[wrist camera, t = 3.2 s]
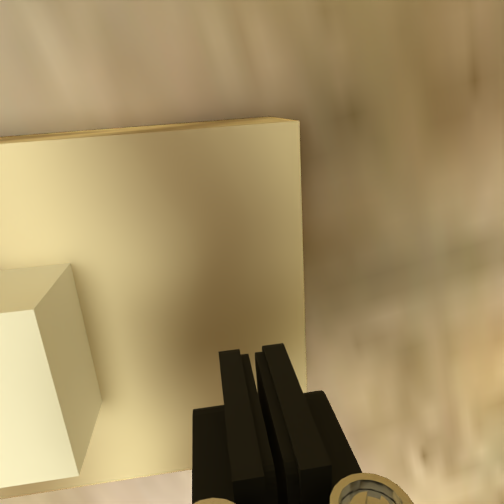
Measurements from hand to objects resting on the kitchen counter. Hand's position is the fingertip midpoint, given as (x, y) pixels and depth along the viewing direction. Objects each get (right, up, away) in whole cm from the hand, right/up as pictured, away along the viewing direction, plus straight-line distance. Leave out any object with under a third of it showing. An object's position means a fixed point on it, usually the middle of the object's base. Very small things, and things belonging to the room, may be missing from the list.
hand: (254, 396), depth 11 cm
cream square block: (-8, +1, +2) cm, 8 cm away
